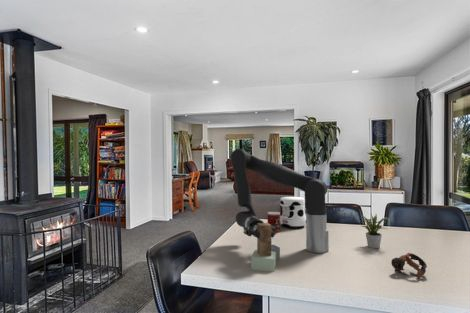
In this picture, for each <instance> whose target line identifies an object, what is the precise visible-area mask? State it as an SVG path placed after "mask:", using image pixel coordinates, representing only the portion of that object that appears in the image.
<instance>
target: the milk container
mask: <svg viewBox="0 0 470 313" xmlns="http://www.w3.org/2000/svg"><path fill="white" fill-rule="evenodd" d="M279 207H280V208H279V210H280V212H279V213H280V226H282V227H286V228H290V229H291V228H294V229H295V228H303V227H304V226H306V208H305V197H300V196H283V197H280V204H279Z"/></svg>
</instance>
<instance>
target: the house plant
mask: <svg viewBox="0 0 470 313" xmlns="http://www.w3.org/2000/svg"><path fill="white" fill-rule="evenodd" d="M370 215H371V218H370V219H367V217H366V216H364V215H361V216H362V217H363V218H362V217H361V219H362V220H363V221H364V222H365V224H366V225H361V226H360V227H363V228H364V229H366V230H367V231H366V232H365V237H366V244H367V247H369V248H370V249H379V248H380V247H381V242H382V233H380V232H378V231H380V230H381V231H382V230H384V229H385V230H387V227H384V228H382V227H383V226H384V224H382V223H383V222H384V220H386V219H388V216H387V217H386V216H385V217H382V218H381V219H380V220H379V221H377V220H378V216H377V214H375V215H374V216H373V214H372V213H370Z"/></svg>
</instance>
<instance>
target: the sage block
mask: <svg viewBox="0 0 470 313" xmlns="http://www.w3.org/2000/svg"><path fill="white" fill-rule="evenodd" d="M276 264H277V260H276V252H274V251H271V256H260V255H259V254H258V253H257V250H256V249H255V250H254V251H253V253H252V254H251V256H250V269H251V270H254V271H265V272H275V270H276V267H277V266H276Z"/></svg>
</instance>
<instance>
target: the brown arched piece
mask: <svg viewBox="0 0 470 313" xmlns="http://www.w3.org/2000/svg"><path fill="white" fill-rule="evenodd" d="M413 260H414V261H413ZM415 261H417V262H418V263H419V264H418V263H416V262H415ZM390 263H391V266H392V268H393V269H394V271H395V272H398V273H401V271H402V270H403V268H404V266H405V265H409V266H410V267H411V268H413V269H414V270H416V271H417V272H416V275H415V277H416V278H418V279H420V278H421V277H422V276H424V275H425V274H426V272H427V270H426V269H427V267H428V266H427V263H426V262H425V261H424V259H422V258H421V257H420V256H418V255H416V254H414V253H412V252H407V253H406V254H403V255H400V256H399V257H394V258H392V259H391V262H390ZM420 266H421V267H420Z"/></svg>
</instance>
